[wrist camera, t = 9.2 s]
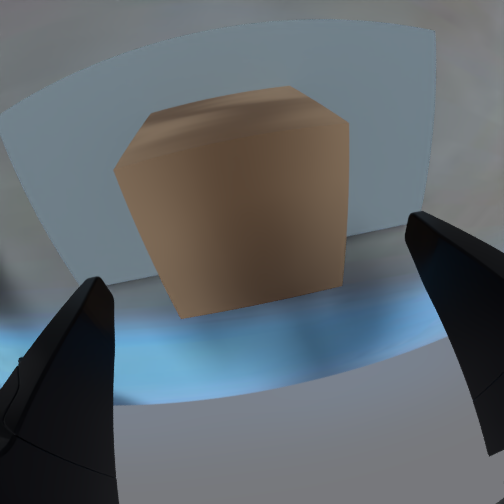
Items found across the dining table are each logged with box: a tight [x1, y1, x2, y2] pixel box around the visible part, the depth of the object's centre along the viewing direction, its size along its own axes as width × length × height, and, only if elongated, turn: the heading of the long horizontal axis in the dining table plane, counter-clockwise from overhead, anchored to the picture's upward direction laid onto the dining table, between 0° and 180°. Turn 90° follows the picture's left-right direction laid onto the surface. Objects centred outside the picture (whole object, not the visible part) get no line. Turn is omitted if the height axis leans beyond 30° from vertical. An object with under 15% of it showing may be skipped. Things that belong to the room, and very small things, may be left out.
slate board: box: [0, 19, 436, 286], centre depth 14 cm, size 22×12×2 cm, turn 98°
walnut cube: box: [113, 86, 349, 319], centre depth 11 cm, size 6×6×6 cm
